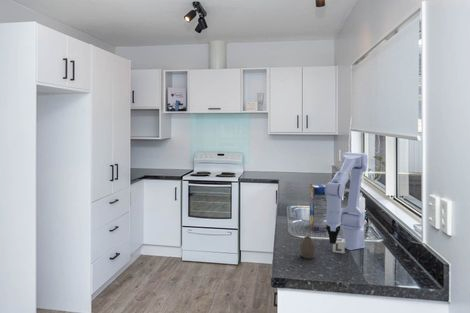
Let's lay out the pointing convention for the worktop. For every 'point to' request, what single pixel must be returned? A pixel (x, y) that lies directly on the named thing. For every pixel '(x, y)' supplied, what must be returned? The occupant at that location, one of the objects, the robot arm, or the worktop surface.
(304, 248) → the vase
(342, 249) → the letter cube
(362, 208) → the milk
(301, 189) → the worktop surface
